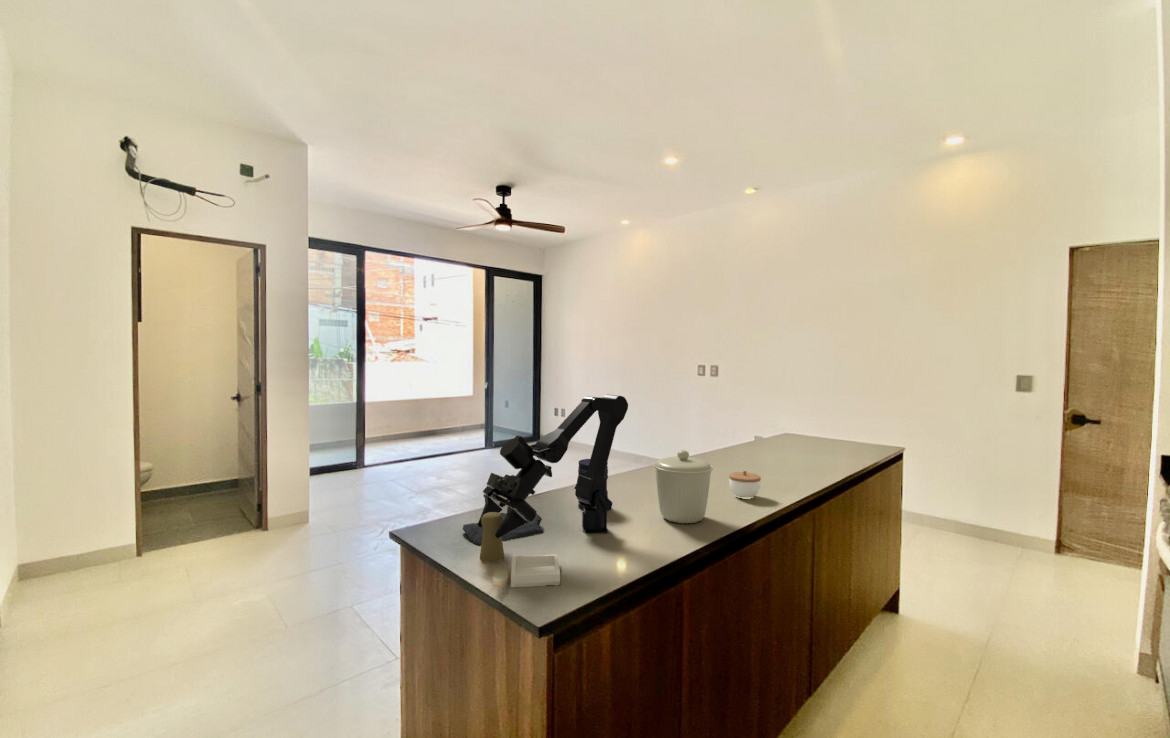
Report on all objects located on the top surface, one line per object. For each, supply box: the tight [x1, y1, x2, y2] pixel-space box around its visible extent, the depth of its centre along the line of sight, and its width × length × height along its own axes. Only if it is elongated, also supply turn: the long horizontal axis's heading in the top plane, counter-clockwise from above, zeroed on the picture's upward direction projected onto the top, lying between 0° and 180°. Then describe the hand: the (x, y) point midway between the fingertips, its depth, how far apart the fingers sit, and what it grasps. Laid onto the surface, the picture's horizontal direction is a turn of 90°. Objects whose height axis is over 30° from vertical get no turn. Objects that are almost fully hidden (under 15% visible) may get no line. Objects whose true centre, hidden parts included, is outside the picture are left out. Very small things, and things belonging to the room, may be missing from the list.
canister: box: [652, 449, 714, 524], centre depth 152 cm, size 18×18×21 cm
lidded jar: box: [728, 470, 761, 498], centre depth 175 cm, size 11×11×9 cm
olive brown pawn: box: [479, 512, 505, 564], centre depth 122 cm, size 6×6×11 cm
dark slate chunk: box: [462, 512, 545, 546], centre depth 140 cm, size 15×22×5 cm
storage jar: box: [577, 458, 609, 511], centre depth 163 cm, size 10×10×15 cm
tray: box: [510, 553, 561, 588], centre depth 112 cm, size 11×11×2 cm
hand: (487, 531), depth 121 cm, fingers open, 9 cm apart
